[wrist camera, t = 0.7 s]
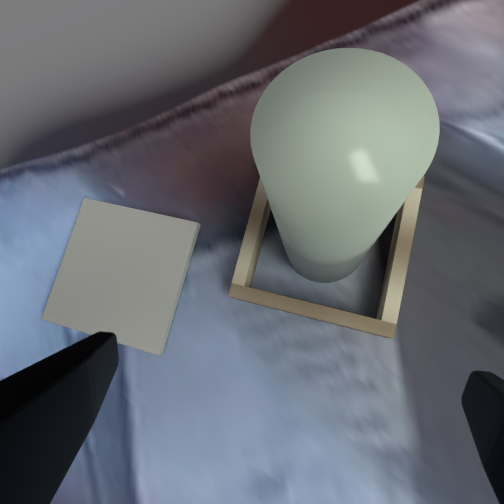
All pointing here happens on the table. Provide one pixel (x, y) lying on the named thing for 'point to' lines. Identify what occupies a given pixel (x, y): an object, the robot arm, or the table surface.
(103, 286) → the cream square tile
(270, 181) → the ceramic canister
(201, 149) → the table surface
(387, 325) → the birch collar
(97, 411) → the robot arm
